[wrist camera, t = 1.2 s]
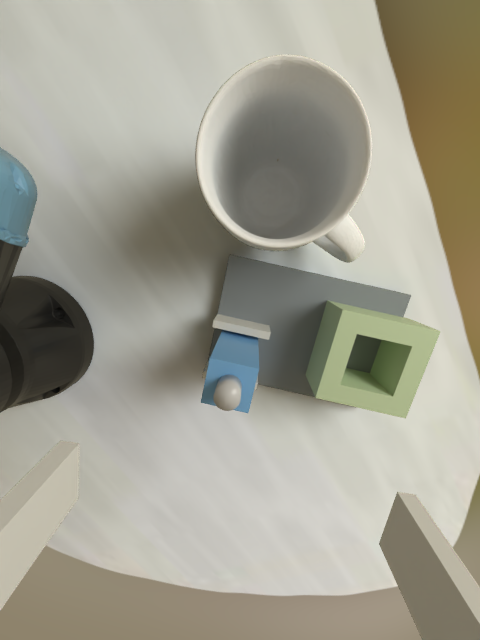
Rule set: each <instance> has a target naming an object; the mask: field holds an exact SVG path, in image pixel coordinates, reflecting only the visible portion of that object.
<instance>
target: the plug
mask: <svg viewBox="0 0 480 640" xmlns="http://www.w3.org/2000/svg"><path fill="white" fill-rule="evenodd" d="M258 372H259V347H258V337H254V336H249V335H245V334H240V333H236V332H231V331H227V330H222V332H221V334H220V337H219V339H218V341H217V343H216V345H215V348H214V350H213V352H212V354H211V356H210V360H209V365H208V369H207V374H206V379H205V384H204V389H203V394H202V399H201V403H205V404H210V405H214V406H217V407H218V408H220V409H222V410H225V411H230V410H236V411H241V412H245V413H248V412H249V408H250V404H251V400H252V396H253V392H254V388H255V384H256V380H257V376H258Z"/></svg>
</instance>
